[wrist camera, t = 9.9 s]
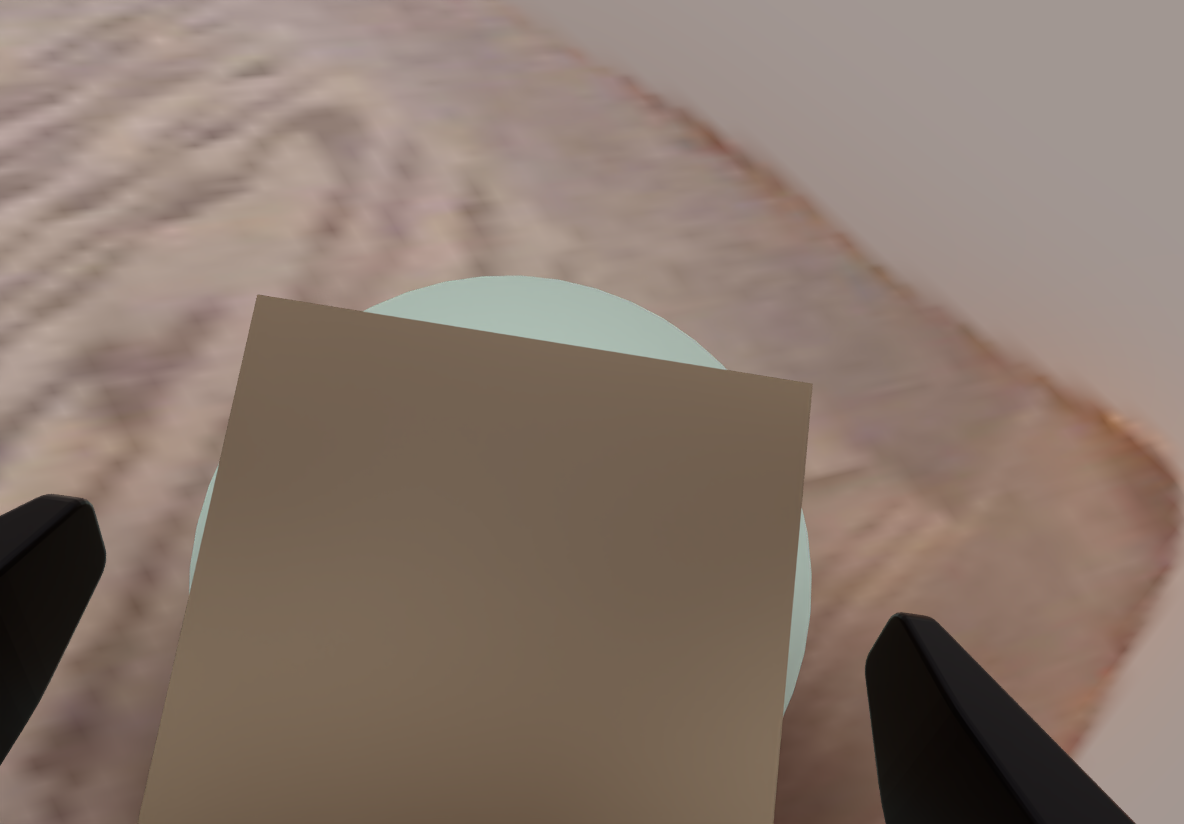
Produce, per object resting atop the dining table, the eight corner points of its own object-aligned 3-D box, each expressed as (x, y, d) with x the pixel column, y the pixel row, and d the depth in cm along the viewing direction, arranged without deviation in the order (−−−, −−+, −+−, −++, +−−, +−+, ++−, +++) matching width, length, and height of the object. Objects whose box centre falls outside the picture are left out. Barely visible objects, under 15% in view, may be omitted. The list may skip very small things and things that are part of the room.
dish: (668, 981, 17) (679, 1014, 16) (94, 739, 17) (62, 754, 16) (868, 424, 20) (890, 417, 19) (375, 204, 19) (366, 183, 18)
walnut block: (603, 698, 17) (758, 988, 6) (377, 669, 16) (113, 924, 6) (632, 476, 18) (812, 383, 7) (418, 445, 17) (256, 294, 7)
